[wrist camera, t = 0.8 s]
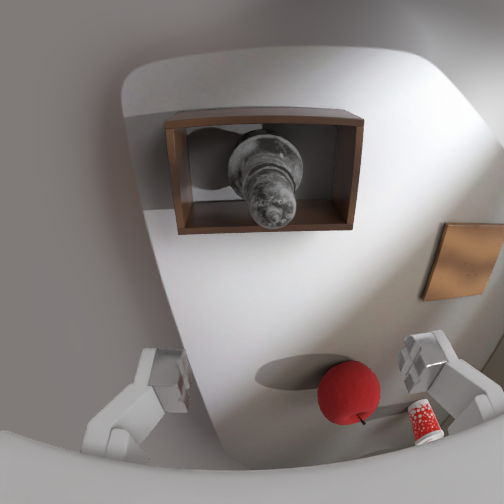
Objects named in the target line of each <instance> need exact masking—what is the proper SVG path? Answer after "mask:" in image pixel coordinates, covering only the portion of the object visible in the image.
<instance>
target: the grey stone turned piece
mask: <svg viewBox="0 0 504 504" xmlns="http://www.w3.org/2000/svg"><path fill="white" fill-rule="evenodd" d="M227 170H228V179H229V181H230V184H231V187H232V188H233V189H234V191H235V192H236V193H237V194H238V195H239V196H240V197H241V198H243V199H244V200H246V202H247V203H248V205H249V211H250V214H251V216H252V218H253V219H254V220H255V222H256V223H258V224H259V225H260V226H262V227H264V228H268V229H278V228H281V227H283V226H285V225H287V224H288V223H289V222H290V221H291V220H292V219H293V217H294V215H295V212H296V200H295V197H294V196H295V193H296V190H297V188H298V186H299V185H300V183H301V180H302V176H303V163H302V159H301V156H300V154H299V153H298V151H297V149H296V148H295V147H294V146H293V145H292V144H291V143H290V142H289V141H287V140H286V139H285V138H284V137H283V136H282V135H280V134H278V133H276V132H274V131H270V130H256V131H253V132H250V133H248V134H246V135H245V136H243V137H242V138H241V139H240V141H239V142H238V143H237V145H236V147H235V149H234V151H233V153H232V155H231V157H230V159H229V163H228V168H227Z"/></svg>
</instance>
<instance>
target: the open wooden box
mask: <svg viewBox="0 0 504 504" xmlns="http://www.w3.org/2000/svg"><path fill="white" fill-rule="evenodd" d="M232 124H323V125H338V127H337V145H336V159H335V173H334V185H333V196H332V200H296V212H295V215H294V217H293V219H292V220H291V221H290V222H289V223H288V224H287V225H285V226H283V227H281V228H278V229H268V228H264V227H262V226H260V225H259V224H258V223H256V222H255V220H254V219H253V218H252V216H251V214H250V211H249V205H248V203H247V202H246V201H226V202H202V203H193V197H192V188H191V178H190V168H189V157H188V145H187V133H186V127H197V126H212V125H232ZM165 129H166V130H165V131H166V141H167V150H168V159H169V168H170V177H171V185H172V192H173V200H174V207H175V215H176V222H177V228H178V235H188V234H215V233H246V232H283V231H330V230H352V229H353V222H354V215H355V208H356V200H357V192H358V183H359V174H360V165H361V155H362V143H363V131H364V119H362V118H360V117H358V116H356V115H354V114H352V113H350V112H348V111H345V110H339V109H321V108H291V107H257V108H226V109H208V110H195V111H183V112H178V113H176V114H175V115H173V116H172V117H171V118H169V119H168V120H166V121H165Z"/></svg>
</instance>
